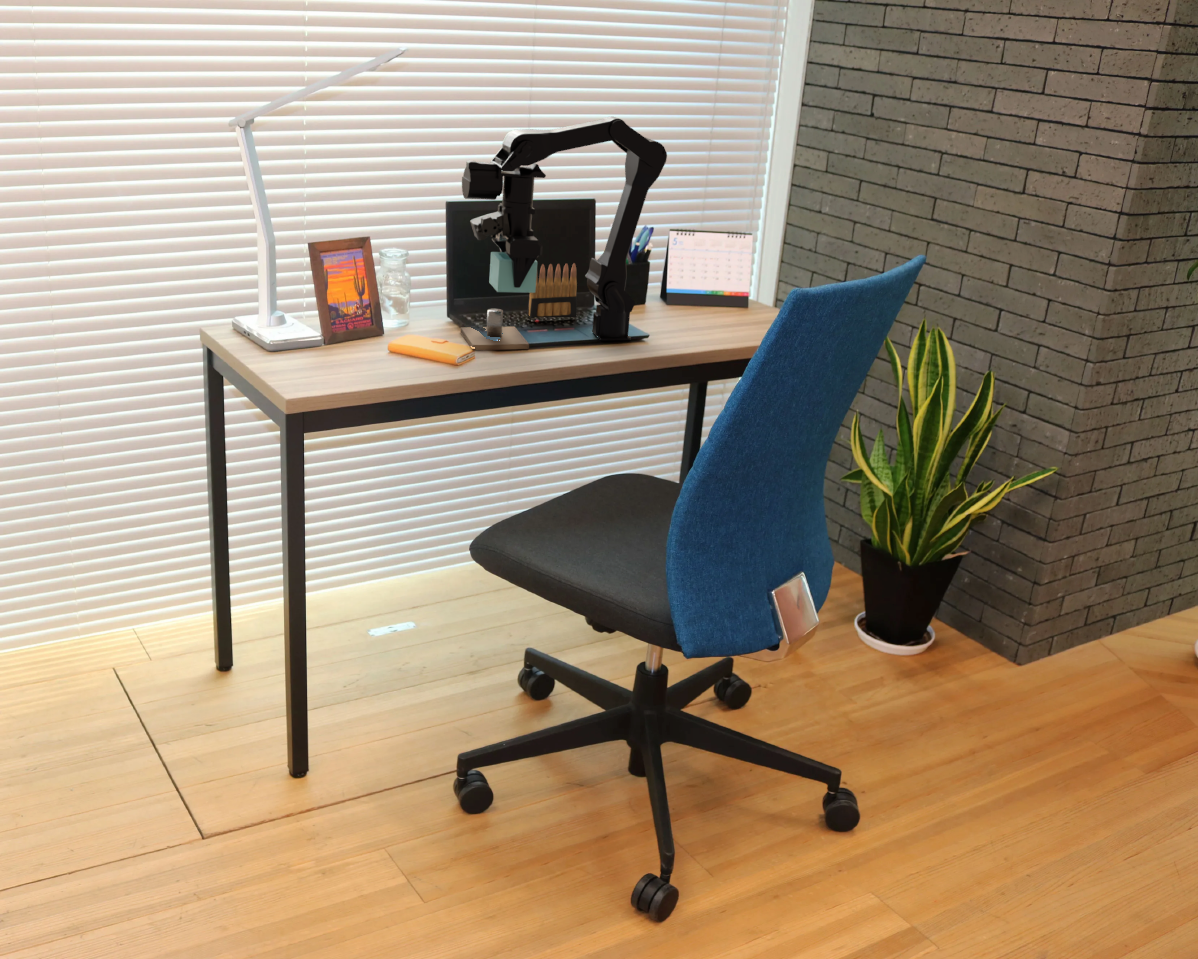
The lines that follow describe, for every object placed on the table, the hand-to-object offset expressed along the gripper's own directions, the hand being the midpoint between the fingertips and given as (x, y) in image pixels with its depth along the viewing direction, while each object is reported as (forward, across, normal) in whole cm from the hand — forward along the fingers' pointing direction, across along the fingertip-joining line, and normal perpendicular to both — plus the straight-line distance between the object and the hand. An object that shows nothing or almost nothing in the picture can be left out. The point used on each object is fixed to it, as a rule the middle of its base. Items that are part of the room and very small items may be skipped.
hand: (512, 282), depth 221 cm
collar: (+1, 0, 0) cm, 1 cm away
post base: (+12, 0, -3) cm, 12 cm away
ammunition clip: (+12, -14, +13) cm, 22 cm away
